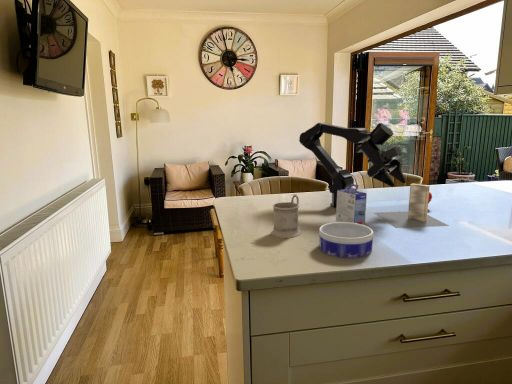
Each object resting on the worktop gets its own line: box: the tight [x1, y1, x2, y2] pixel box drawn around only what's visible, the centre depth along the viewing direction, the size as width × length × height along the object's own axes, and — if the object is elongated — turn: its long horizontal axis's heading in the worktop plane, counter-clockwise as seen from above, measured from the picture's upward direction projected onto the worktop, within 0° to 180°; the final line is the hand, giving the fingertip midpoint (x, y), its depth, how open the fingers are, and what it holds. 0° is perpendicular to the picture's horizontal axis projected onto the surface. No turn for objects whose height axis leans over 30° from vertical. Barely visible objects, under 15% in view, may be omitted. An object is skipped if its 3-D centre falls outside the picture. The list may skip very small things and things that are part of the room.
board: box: [408, 183, 430, 222], centre depth 130 cm, size 6×2×13 cm, turn 43°
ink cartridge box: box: [335, 183, 368, 226], centre depth 127 cm, size 10×6×14 cm, turn 27°
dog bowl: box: [318, 221, 374, 259], centre depth 105 cm, size 15×15×6 cm
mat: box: [373, 210, 450, 229], centre depth 133 cm, size 19×20×1 cm
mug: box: [270, 193, 302, 239], centre depth 121 cm, size 14×10×12 cm
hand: (399, 184), depth 134 cm, fingers open, 9 cm apart
